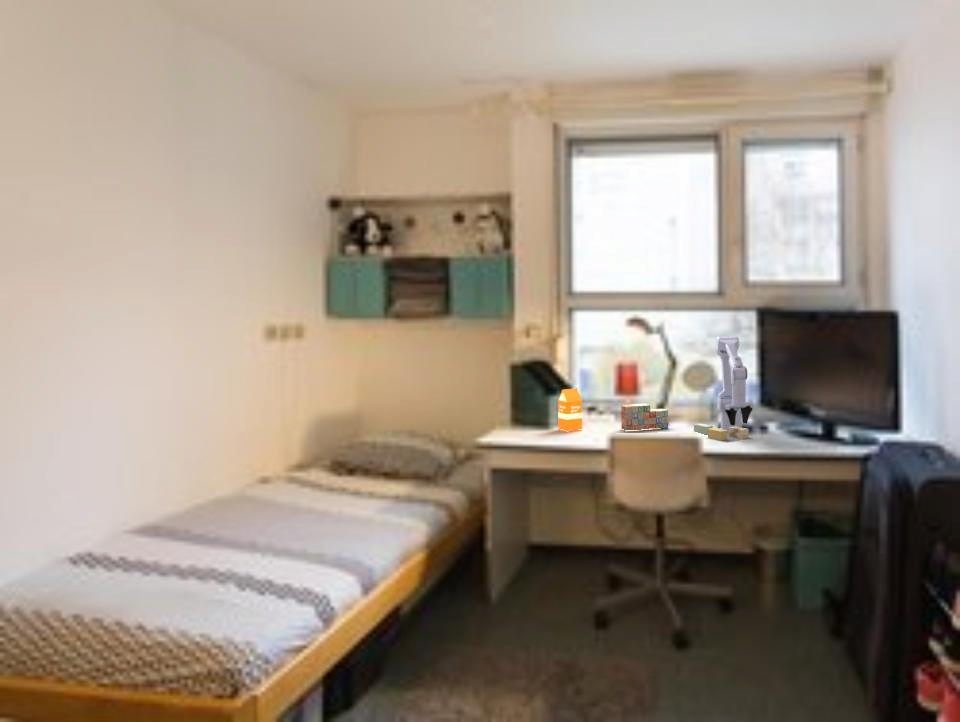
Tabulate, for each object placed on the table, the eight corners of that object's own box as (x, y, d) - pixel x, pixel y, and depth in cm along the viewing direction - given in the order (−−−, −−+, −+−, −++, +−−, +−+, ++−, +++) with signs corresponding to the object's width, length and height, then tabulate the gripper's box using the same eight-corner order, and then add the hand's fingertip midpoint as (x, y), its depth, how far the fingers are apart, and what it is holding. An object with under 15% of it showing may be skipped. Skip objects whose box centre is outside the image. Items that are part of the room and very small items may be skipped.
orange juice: (558, 429, 428) (557, 388, 426) (573, 427, 432) (572, 387, 430) (567, 432, 421) (566, 390, 419) (582, 430, 425) (582, 389, 423)
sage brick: (693, 432, 409) (693, 424, 409) (700, 431, 411) (700, 423, 411) (706, 435, 403) (706, 426, 402) (712, 434, 405) (712, 425, 404)
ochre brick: (707, 437, 398) (707, 428, 397) (714, 436, 400) (714, 427, 399) (720, 440, 391) (720, 431, 390) (727, 439, 393) (727, 430, 392)
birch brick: (728, 436, 400) (728, 427, 399) (735, 435, 402) (735, 426, 401) (742, 438, 393) (742, 429, 393) (748, 437, 395) (748, 428, 395)
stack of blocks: (663, 427, 428) (663, 402, 427) (668, 429, 422) (668, 404, 421) (621, 429, 424) (621, 404, 423) (625, 432, 418) (625, 406, 417)
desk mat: (710, 430, 417) (710, 429, 417) (753, 439, 394) (753, 438, 394) (684, 434, 409) (684, 433, 409) (727, 443, 386) (727, 442, 386)
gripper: (733, 396, 388) (733, 427, 390) (757, 393, 395) (757, 423, 397) (721, 394, 395) (721, 424, 396) (745, 392, 402) (745, 421, 403)
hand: (738, 424), depth 397 cm, fingers open, 7 cm apart
